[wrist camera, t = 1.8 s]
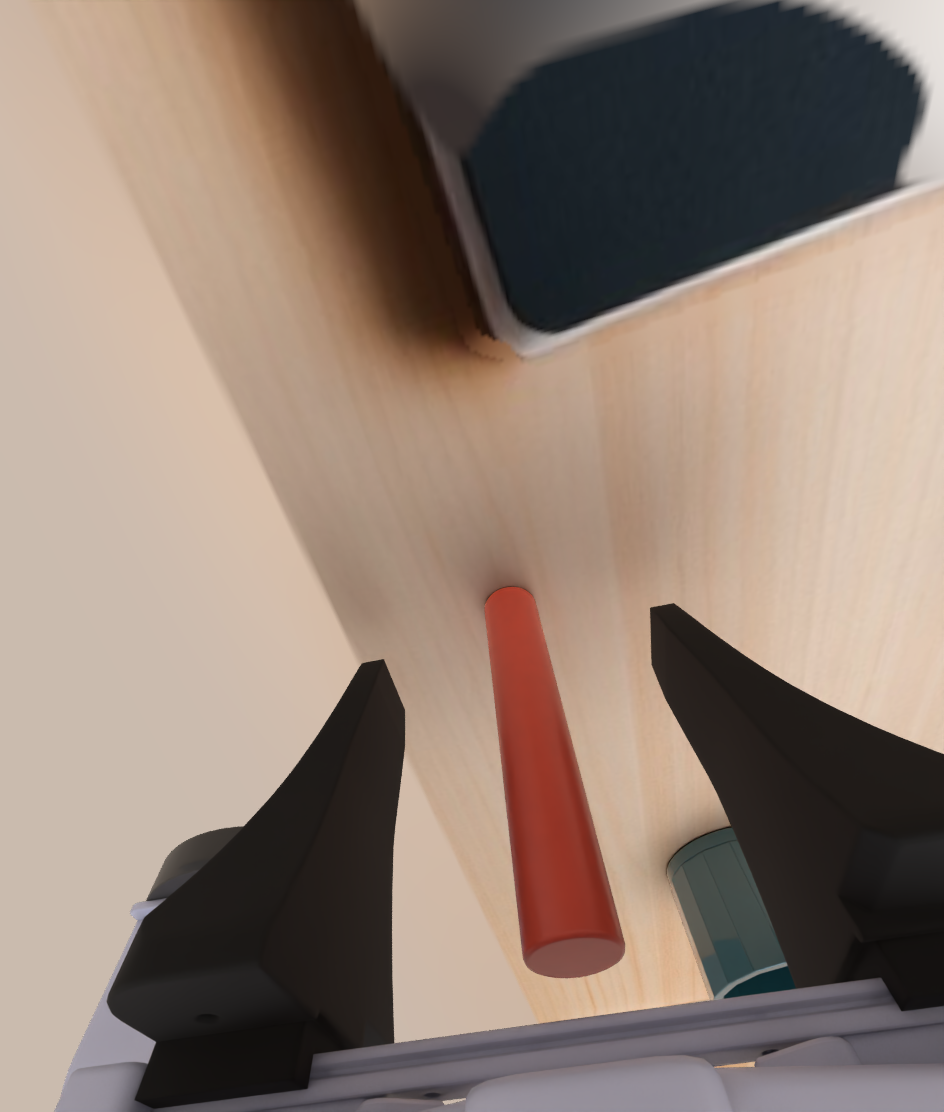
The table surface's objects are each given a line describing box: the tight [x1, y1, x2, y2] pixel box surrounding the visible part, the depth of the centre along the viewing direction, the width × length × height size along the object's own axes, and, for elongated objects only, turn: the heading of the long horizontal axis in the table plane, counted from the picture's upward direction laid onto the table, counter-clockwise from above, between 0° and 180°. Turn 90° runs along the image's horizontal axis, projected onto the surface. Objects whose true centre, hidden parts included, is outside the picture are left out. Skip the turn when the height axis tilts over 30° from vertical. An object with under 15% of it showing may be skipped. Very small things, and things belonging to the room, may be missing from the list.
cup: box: [667, 827, 796, 1001], centre depth 22 cm, size 6×6×5 cm
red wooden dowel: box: [485, 587, 625, 978], centre depth 11 cm, size 2×2×9 cm
